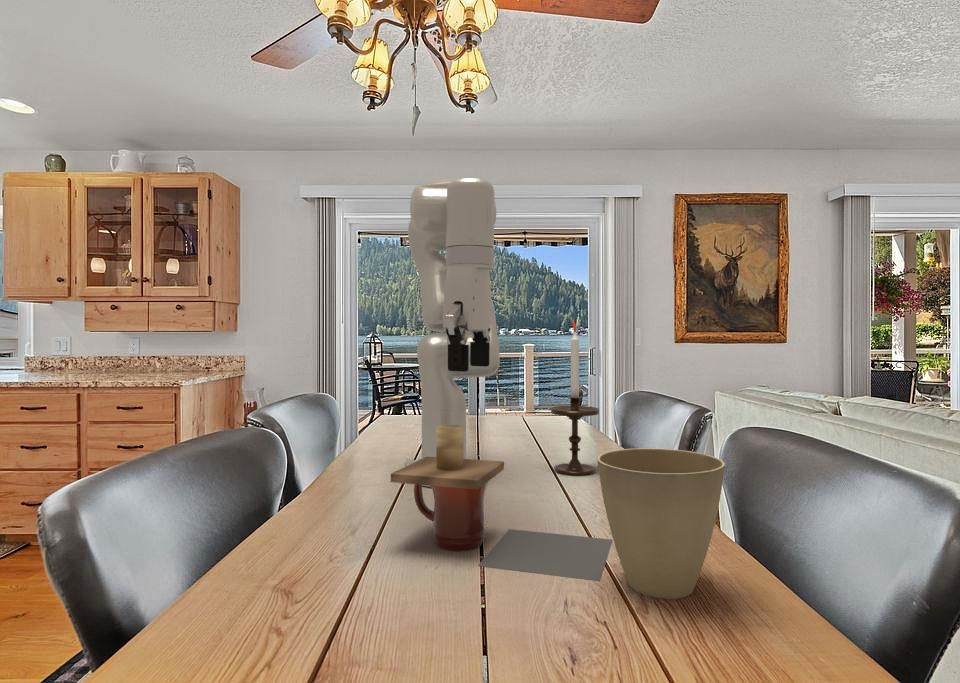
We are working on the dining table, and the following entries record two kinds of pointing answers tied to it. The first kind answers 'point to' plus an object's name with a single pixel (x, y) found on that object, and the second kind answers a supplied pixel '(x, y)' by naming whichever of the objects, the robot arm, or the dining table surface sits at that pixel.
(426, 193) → the robot arm
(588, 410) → the candlestick
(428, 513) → the mug
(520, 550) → the mat
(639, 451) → the plant pot
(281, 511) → the dining table surface
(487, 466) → the lid
